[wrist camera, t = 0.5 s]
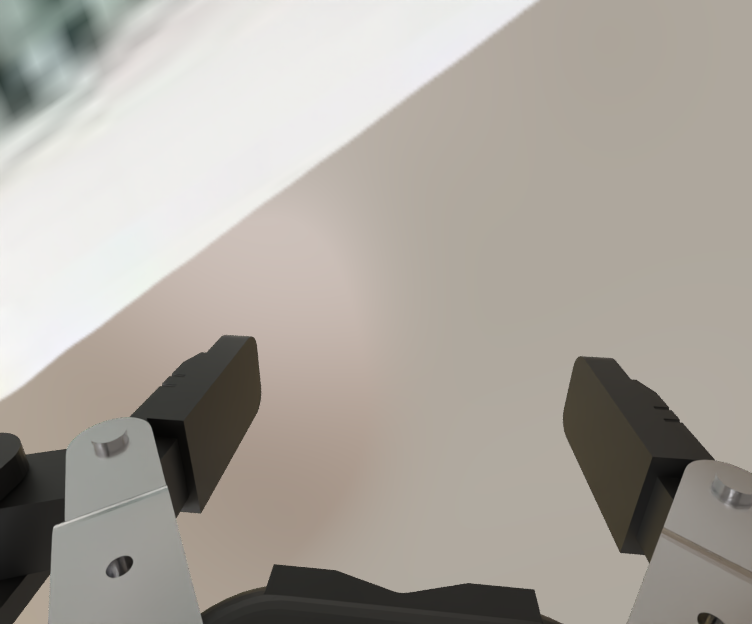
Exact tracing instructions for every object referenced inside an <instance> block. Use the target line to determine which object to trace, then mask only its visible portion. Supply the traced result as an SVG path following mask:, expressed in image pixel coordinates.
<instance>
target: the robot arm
mask: <svg viewBox="0 0 752 624" xmlns="http://www.w3.org/2000/svg"><path fill="white" fill-rule="evenodd" d="M260 400H261V382H260V373H259V362H258V352H257V344H256V340H255V338H254V337H249V336H234V335H224V336H222V337H221V338H220V339H219V340H218V341H217V342H216V343H215V344H214V345H213V347H211V348H210V350H209V351H208V352H207V353H203V352H202V353H199V354H197V355H196V356H194V357H192V358H190V359H188V360H186V361H185V362H183V363H182V364H181V365H180V366H179V367H178V368H177V369H176V370H175V371H174V372H173V373H172V376H169V377H168V378H167V379H166V380H165V381H164V383H163V384H162V386H160V387H159V388H158V389H157V390H156V391H155V392H154V393H153V394H152V395H151V396H150V397H149V398H148V399H147V400H146V401H145V402H144V403H143V404H142V405H141V406H140V407H139V408H138V409H137V410H136V411H135V412H134V413H133V414H132V415H131V416H130V417H125V418H116V419H112V420H108V421H104V422H102V423H99V424H96V425H94V426H92V427H90V428H88V429H86V430H85V431H83V432H82V433H80V434H79V435H78V436H77V437H75V438H74V439H73V440H72V441H71V443H70V444H69V446H68V448H67V449H63V450H56V451H49V452H42V453H35V454H28V455H25V452H24V449H23V447H22V444H21V441H20V439H19V438H18V437H17V436H15V435H13V434H10V433H0V624H13V623H14V622H15V620H16V619H17V618H18V616H19V615H20V614H21V612H22V611H23V610H24V608H25V607H26V606H27V604H28V603H29V602H30V600H31V599H32V598H33V596H34V595H35V594H36V592H37V591H38V590H39V588H40V587H41V585H42V584H43V583H44V582H45V580H46V579H47V577H48V576H49V575H50V595H49V617H48V624H562V623H560V622H557V621H555V620H553V619H551V618H549V617H546V616H544V615H541V614H540V611H539V607H538V603H537V598H536V594H535V591H534V590H533V589H523V588H511V587H502V586H491V585H481V584H471V583H467V584H460V585H454V586H448V587H441V588H435V589H429V590H423V591H417V592H410V593H397V592H394V591H391V590H388V589H385V588H383V587H380V586H377V585H375V584H372V583H369V582H366V581H364V580H361V579H358V578H355V577H352V576H350V575H347V574H344V573H342V572H339V571H336V570H326V569H317V568H306V567H296V566H286V565H275V564H274V566H273V569H272V572H271V575H270V578H269V581H268V584H267V586H266V587H261V588H256V589H252V590H249V591H246V592H242V593H239V594H237V595H234V596H232V597H230V598H227V599H225V600H223V601H221V602H219V603H217V604H215V605H214V606H212V607H210V608H208V609H207V610H205V611H204V612H202V613H201V614H200V610H199V607H198V603H197V599H196V595H195V591H194V587H193V584H192V579H191V576H190V571H189V568H188V564H187V560H186V556H185V552H184V548H183V544H182V541H181V537H180V533H179V529H178V525H177V521H176V518H177V516H178V514H179V513H180V512H190V513H201V512H202V511H203V509H204V507H205V505H206V503H207V502H208V500H209V498H210V496H211V495H212V493H213V491H214V489H215V487H216V486H217V484H218V482H219V480H220V478H221V476H222V475H223V473H224V471H225V470H226V468H227V466H228V464H229V462H230V460H231V459H232V457H233V455H234V453H235V452H236V450H237V448H238V446H239V444H240V443H241V441H242V439H243V437H244V435H245V434H246V432H247V430H248V428H249V426H250V425H251V423H252V421H253V419H254V417H255V416H256V414H257V412H258V409H259V405H260ZM563 426H564V432H565V435H566V437H567V439H568V442H569V444H570V446H571V448H572V450H573V453H574V455H575V457H576V459H577V461H578V463H579V465H580V468H581V470H582V472H583V474H584V476H585V478H586V480H587V483H588V485H589V487H590V489H591V491H592V493H593V495H594V498H595V500H596V502H597V504H598V506H599V508H600V510H601V513H602V515H603V517H604V519H605V521H606V523H607V526H608V528H609V530H610V532H611V534H612V536H613V538H614V541H615V543H616V545H617V547H618V549H619V551H620V553H629V554H640V555H645V556H646V558H647V560H648V562H649V566H648V569H647V571H646V574H645V577H644V579H643V582H642V585H641V587H640V590H639V592H638V595H637V598H636V600H635V603H634V606H633V608H632V611H631V614H630V616H629V619H628V622H627V624H752V473H750V472H748V471H746V470H744V469H742V468H739V467H737V466H734V465H731V464H728V463H724V462H719V461H715V460H714V458H713V457H712V456H711V455H710V454H709V453H708V452H707V450H706V449H705V448H704V447H703V446H702V445H701V443H700V442H699V441H698V440H697V439H696V438H695V437H694V435H693V434H692V433H691V432H690V431H689V430H688V429H687V428H686V426H685V425H684V424H683V423H680V421H679V418H678V417H677V416H676V415H675V414H674V413H673V411H672V410H669V407H668V406H667V405H666V403H665V402H664V401H663V400H662V399H661V398H660V397H659V396H658V394H657V393H656V392H654V391H653V390H651V389H650V388H648V387H646V386H645V385H643V384H642V383H640V382H639V381H637V380H631V379H630V378H629V377H628V375H627V374H626V373H625V372H624V371H623V369H622V368H621V367H620V366H619V364H618V363H617V362H616V361H615V360H614V359H613V358H599V357H582V356H580V357H578V358H577V359H576V361H575V363H574V367H573V371H572V375H571V380H570V384H569V389H568V393H567V398H566V402H565V407H564V412H563Z"/></svg>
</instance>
